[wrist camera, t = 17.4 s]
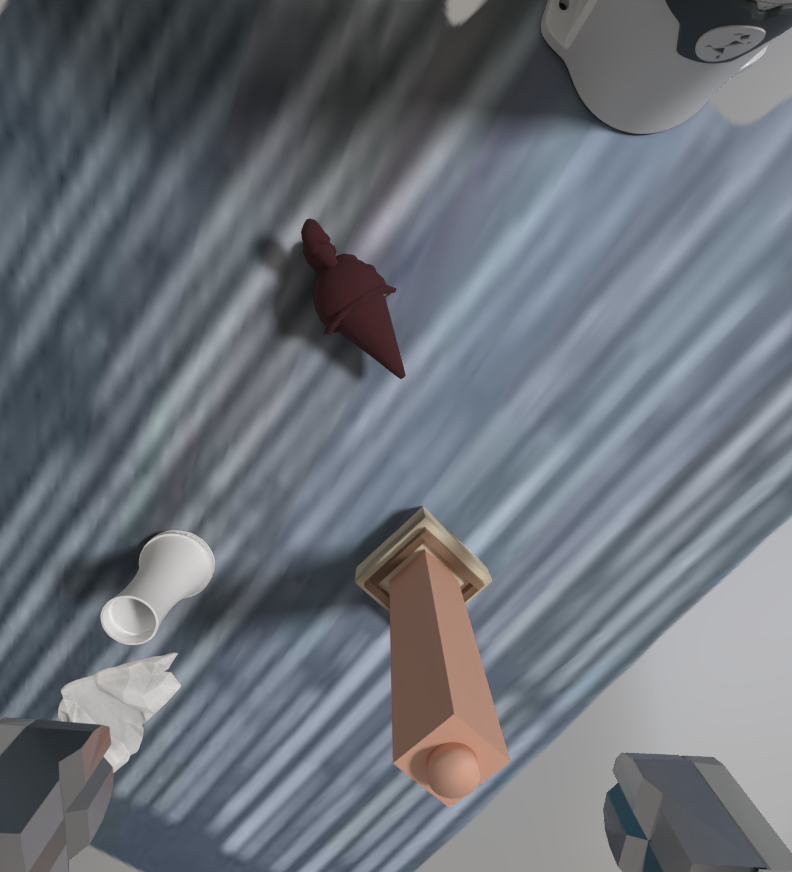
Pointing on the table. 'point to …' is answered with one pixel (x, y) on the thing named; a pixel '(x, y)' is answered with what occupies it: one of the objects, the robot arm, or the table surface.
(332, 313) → the icecream
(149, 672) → the cloth
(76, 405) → the table surface
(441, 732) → the pillar
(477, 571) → the base
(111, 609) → the vase
